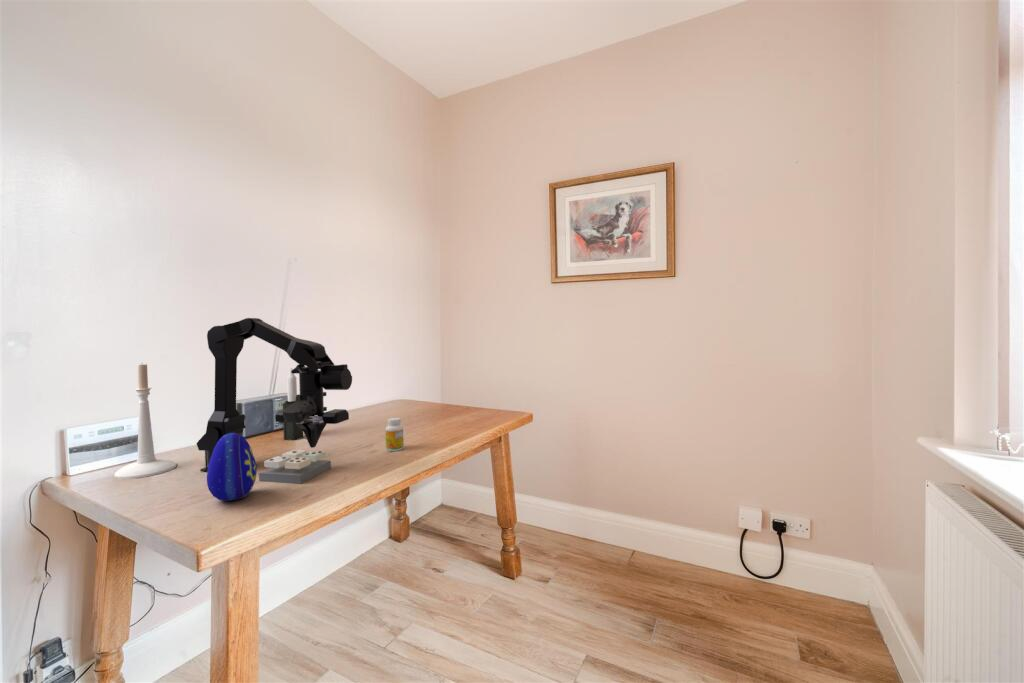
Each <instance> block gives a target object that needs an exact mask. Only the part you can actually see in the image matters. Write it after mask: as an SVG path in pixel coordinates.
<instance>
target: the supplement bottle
mask: <svg viewBox="0 0 1024 683" xmlns="http://www.w3.org/2000/svg"><path fill="white" fill-rule="evenodd" d="M401 423H402V419H401V418H400V417H391V418H388V419H387V425H386V427H385V449H386V451H389V452H398V451H401V450H403V449H404V447H405V446H404V445H405V444H404V426H403V425H402V424H401Z"/></svg>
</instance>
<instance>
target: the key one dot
mask: <svg viewBox="0 0 1024 683" xmlns="http://www.w3.org/2000/svg"><path fill="white" fill-rule="evenodd" d="M306 453H307V450H303V449H291V450H289V451H286V452H283V453H281V457H291V459H294V458H296V457H299V458H301V455H303V454H306Z"/></svg>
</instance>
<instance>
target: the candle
mask: <svg viewBox="0 0 1024 683" xmlns="http://www.w3.org/2000/svg"><path fill="white" fill-rule="evenodd" d="M293 369H294V368H290V371H289V374H288V376H287V378H286V380H287V381H286V382H287V384H286V385H287V387H286V388H287V400H285V401H284V402H283V403H282V410H283V409H285V408H287V407H288V406H289V405H291V404H293V403H295V401H296V395H298V389H297V388H298V387H297V385H298V384H297V377H296V374H295V373H291V371H292V370H293ZM294 423H295V422H289V423H286V422H282V424H283V440H285V441H298V440H299V439H301V438H303V437H304V432H303V430H302V429H301V428H300V427H298V426H297V425H294Z"/></svg>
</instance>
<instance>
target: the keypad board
mask: <svg viewBox="0 0 1024 683" xmlns="http://www.w3.org/2000/svg"><path fill="white" fill-rule="evenodd" d="M330 469H332V461H331V460H327V459H325V460H324V459H320V460H318V461H316V462H313V461H311V464H309V465H307V466H305V467H303V468H301V469H288V468H285V465H284V466H282V467H280V468H272V467H269V468H267V469H265V470H263V471H261V472H258V481H259V482H271V483H281V484H282V483H285V484H298V485H299V484H303V483H304V482H306V481H308V480H310V479H313V478H314V477H316V476H318V475H320V474H322V473H324V472H326V471H327V470H330Z"/></svg>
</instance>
